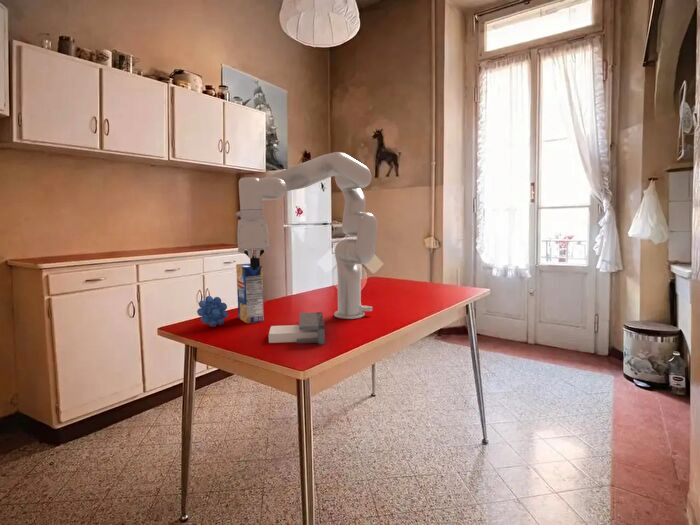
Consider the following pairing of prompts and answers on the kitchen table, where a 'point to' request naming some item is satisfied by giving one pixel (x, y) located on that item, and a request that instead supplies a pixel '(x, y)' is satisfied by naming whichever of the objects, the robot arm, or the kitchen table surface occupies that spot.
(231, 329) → the kitchen table surface
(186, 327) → the kitchen table surface
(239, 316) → the beverage box
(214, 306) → the grapes
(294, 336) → the white thin flat slab
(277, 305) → the kitchen table surface
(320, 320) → the overhang bracket
